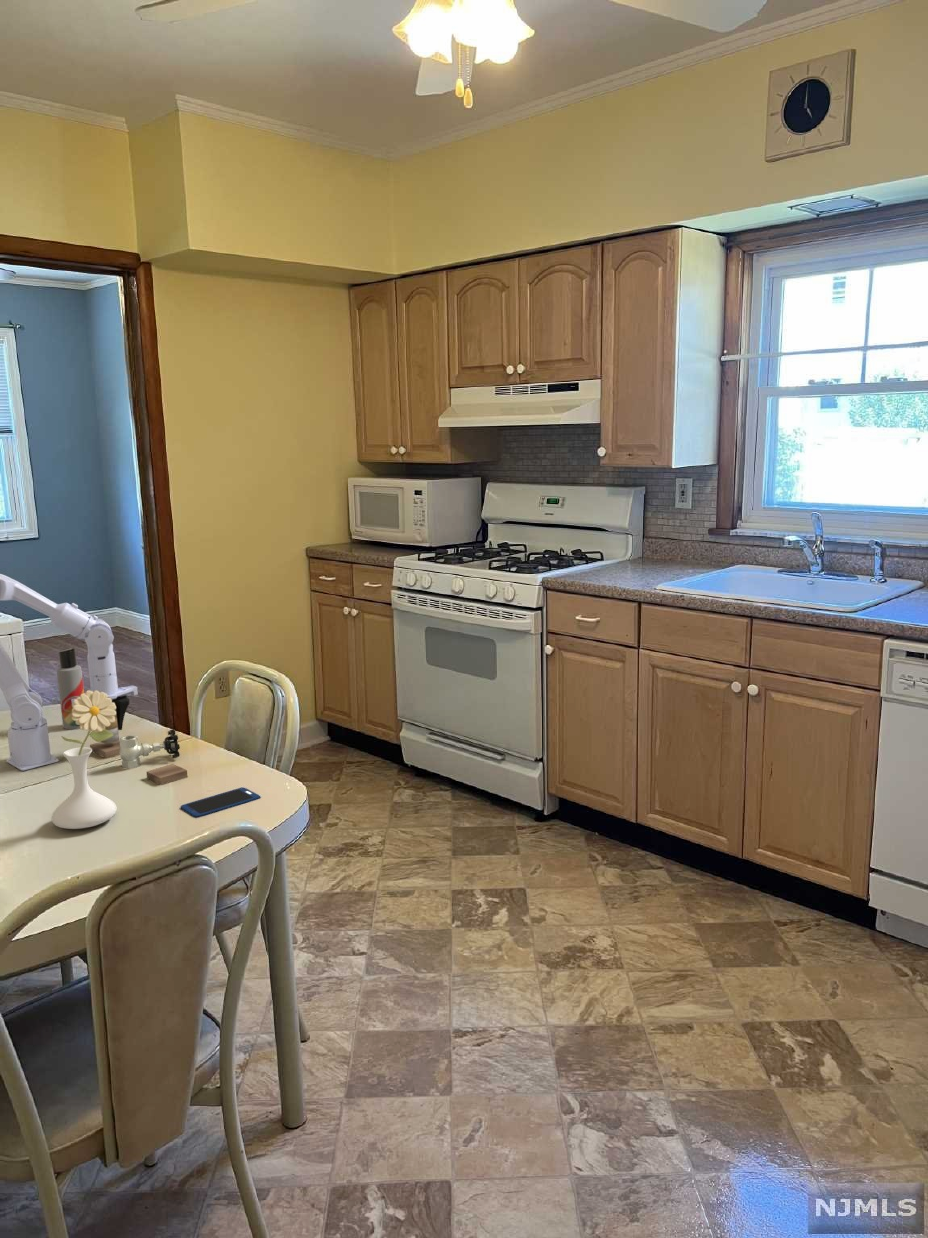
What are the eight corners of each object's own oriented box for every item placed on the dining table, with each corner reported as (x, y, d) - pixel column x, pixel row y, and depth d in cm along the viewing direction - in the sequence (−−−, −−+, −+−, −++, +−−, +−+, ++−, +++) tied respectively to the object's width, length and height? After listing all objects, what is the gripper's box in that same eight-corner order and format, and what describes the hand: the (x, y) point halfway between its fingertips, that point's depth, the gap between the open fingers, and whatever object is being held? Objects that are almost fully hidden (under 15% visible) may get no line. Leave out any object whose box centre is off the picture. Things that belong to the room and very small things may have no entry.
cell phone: (262, 799, 181) (262, 796, 181) (196, 820, 172) (195, 816, 172) (244, 790, 186) (243, 786, 186) (179, 809, 177) (178, 805, 177)
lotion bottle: (81, 729, 228) (73, 650, 225) (59, 730, 229) (50, 651, 225) (91, 722, 234) (82, 645, 230) (69, 723, 234) (60, 646, 230)
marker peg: (97, 740, 211) (93, 706, 209) (114, 736, 214) (110, 703, 212) (105, 744, 208) (101, 710, 207) (122, 739, 211) (118, 706, 209)
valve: (124, 773, 197) (181, 761, 204) (121, 743, 196) (178, 733, 202) (118, 764, 203) (173, 753, 209) (115, 735, 202) (170, 725, 208)
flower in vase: (52, 839, 164) (35, 704, 159) (52, 816, 175) (36, 689, 170) (129, 826, 169) (115, 694, 164) (125, 804, 180) (112, 680, 175)
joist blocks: (90, 750, 212) (89, 744, 212) (115, 744, 216) (114, 738, 216) (161, 785, 189) (160, 778, 189) (187, 776, 194) (186, 770, 193)
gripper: (78, 683, 200) (85, 743, 203) (141, 670, 210) (147, 727, 213) (64, 678, 205) (71, 736, 207) (127, 665, 215) (132, 721, 218)
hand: (109, 731), depth 210 cm, fingers closed on marker peg, 4 cm apart
